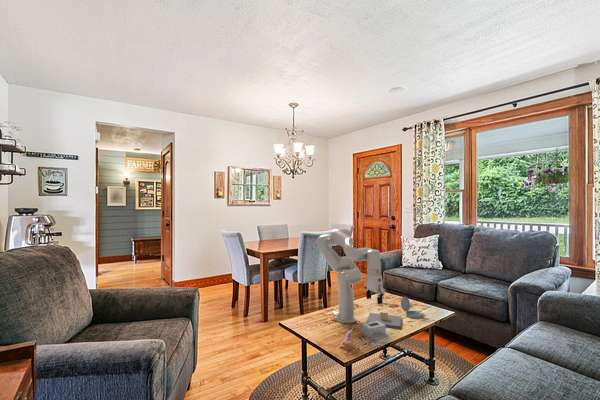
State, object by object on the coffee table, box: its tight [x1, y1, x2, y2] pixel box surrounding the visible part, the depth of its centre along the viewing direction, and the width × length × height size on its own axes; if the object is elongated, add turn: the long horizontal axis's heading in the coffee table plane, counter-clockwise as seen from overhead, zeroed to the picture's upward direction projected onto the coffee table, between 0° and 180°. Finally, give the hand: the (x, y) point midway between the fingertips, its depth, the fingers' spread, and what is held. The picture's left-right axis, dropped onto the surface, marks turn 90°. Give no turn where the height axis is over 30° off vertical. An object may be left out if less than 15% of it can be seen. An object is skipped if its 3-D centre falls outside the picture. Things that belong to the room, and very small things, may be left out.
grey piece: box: [365, 310, 402, 330], centre depth 182 cm, size 20×16×6 cm
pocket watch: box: [400, 295, 425, 319], centre depth 191 cm, size 10×11×15 cm
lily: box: [339, 327, 357, 347], centre depth 152 cm, size 12×12×10 cm
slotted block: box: [361, 321, 387, 339], centre depth 166 cm, size 11×7×5 cm, turn 114°
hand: (374, 301), depth 167 cm, fingers open, 9 cm apart
